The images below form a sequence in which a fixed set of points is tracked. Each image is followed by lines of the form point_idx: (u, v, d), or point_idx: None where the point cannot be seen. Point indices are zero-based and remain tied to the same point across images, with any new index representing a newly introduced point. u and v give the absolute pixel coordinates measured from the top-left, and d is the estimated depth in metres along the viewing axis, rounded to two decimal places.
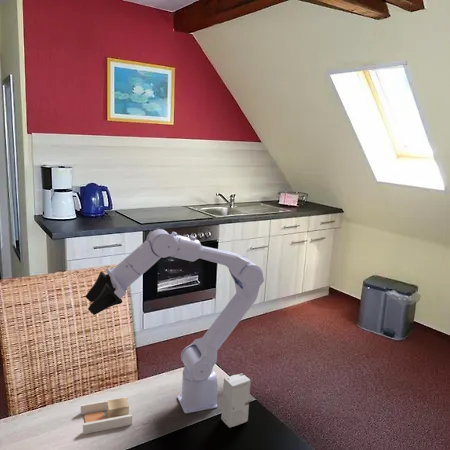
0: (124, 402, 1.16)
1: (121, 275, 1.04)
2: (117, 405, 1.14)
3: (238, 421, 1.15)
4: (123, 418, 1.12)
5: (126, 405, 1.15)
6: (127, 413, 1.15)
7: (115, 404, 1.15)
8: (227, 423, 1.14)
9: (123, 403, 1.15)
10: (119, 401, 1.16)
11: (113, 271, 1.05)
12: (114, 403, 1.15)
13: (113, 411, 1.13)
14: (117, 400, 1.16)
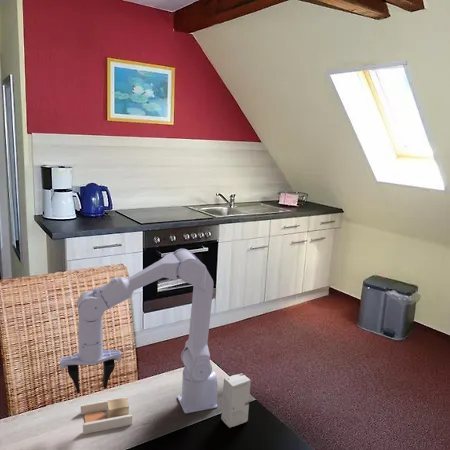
0: (124, 402, 1.16)
1: None
2: (117, 405, 1.14)
3: (238, 421, 1.15)
4: (123, 418, 1.12)
5: (126, 405, 1.15)
6: (127, 413, 1.15)
7: (115, 404, 1.15)
8: (227, 423, 1.14)
9: (123, 403, 1.15)
10: (119, 401, 1.16)
11: None
12: (114, 403, 1.15)
13: (113, 411, 1.13)
14: (117, 400, 1.16)
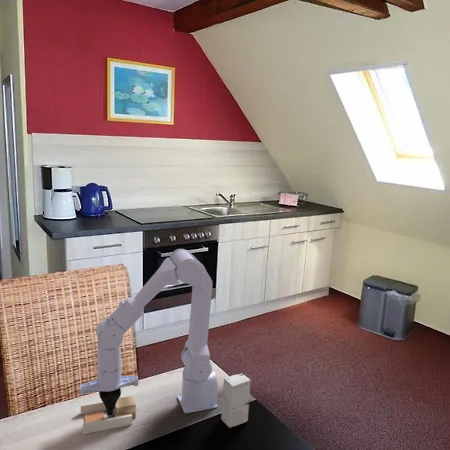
0: (131, 400, 1.17)
1: None
2: (124, 404, 1.15)
3: (238, 421, 1.15)
4: (123, 418, 1.12)
5: (133, 403, 1.15)
6: (134, 411, 1.15)
7: (122, 402, 1.15)
8: (227, 423, 1.14)
9: (130, 401, 1.16)
10: (126, 399, 1.17)
11: None
12: (121, 401, 1.16)
13: (120, 409, 1.14)
14: (124, 399, 1.17)
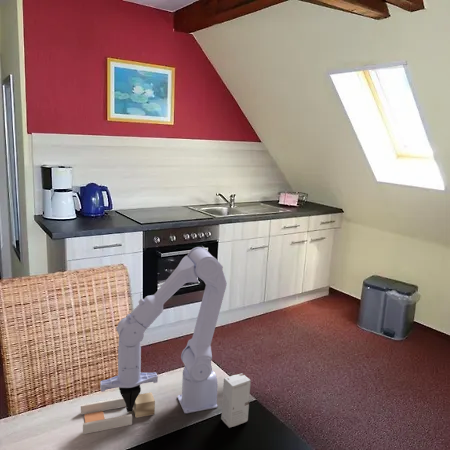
0: (150, 396, 1.18)
1: None
2: (143, 400, 1.17)
3: (238, 421, 1.15)
4: (123, 418, 1.12)
5: (152, 400, 1.17)
6: (153, 407, 1.17)
7: (141, 398, 1.17)
8: (227, 423, 1.14)
9: (149, 397, 1.18)
10: (145, 395, 1.19)
11: None
12: (140, 398, 1.18)
13: (140, 405, 1.15)
14: (143, 395, 1.19)
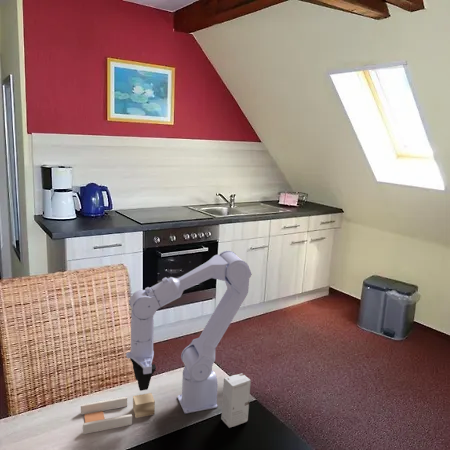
0: (149, 397, 1.18)
1: (139, 353, 1.11)
2: (143, 400, 1.17)
3: (238, 421, 1.15)
4: (123, 418, 1.12)
5: (152, 400, 1.17)
6: (153, 408, 1.17)
7: (141, 399, 1.17)
8: (227, 423, 1.14)
9: (149, 398, 1.18)
10: (145, 396, 1.19)
11: (131, 353, 1.13)
12: (140, 398, 1.18)
13: (140, 406, 1.16)
14: (142, 396, 1.19)
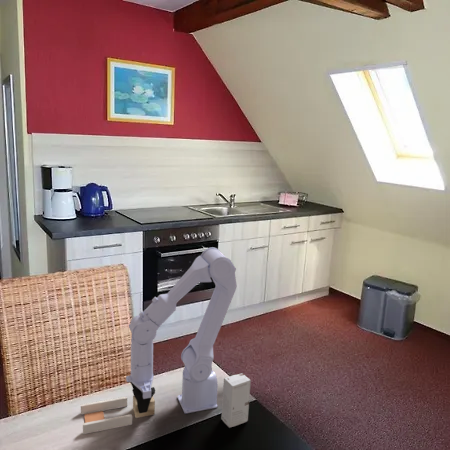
0: None
1: (138, 377, 1.13)
2: None
3: (238, 421, 1.15)
4: (123, 418, 1.12)
5: (152, 400, 1.17)
6: (153, 408, 1.17)
7: None
8: (227, 423, 1.14)
9: None
10: None
11: (131, 377, 1.14)
12: None
13: None
14: None
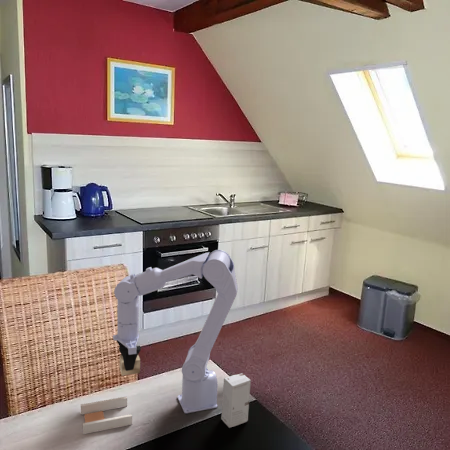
0: None
1: (124, 335, 1.18)
2: None
3: (238, 421, 1.15)
4: (123, 418, 1.12)
5: (138, 359, 1.22)
6: (138, 366, 1.22)
7: None
8: (227, 423, 1.14)
9: None
10: None
11: (118, 335, 1.19)
12: None
13: None
14: None
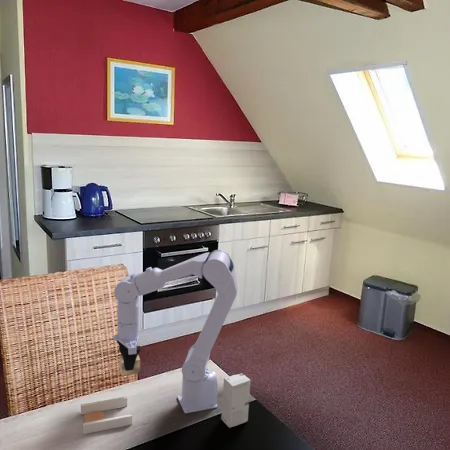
0: None
1: (124, 335, 1.18)
2: None
3: (238, 421, 1.15)
4: (123, 418, 1.12)
5: (138, 359, 1.22)
6: (138, 366, 1.22)
7: None
8: (227, 423, 1.14)
9: None
10: None
11: (118, 335, 1.19)
12: None
13: None
14: None
